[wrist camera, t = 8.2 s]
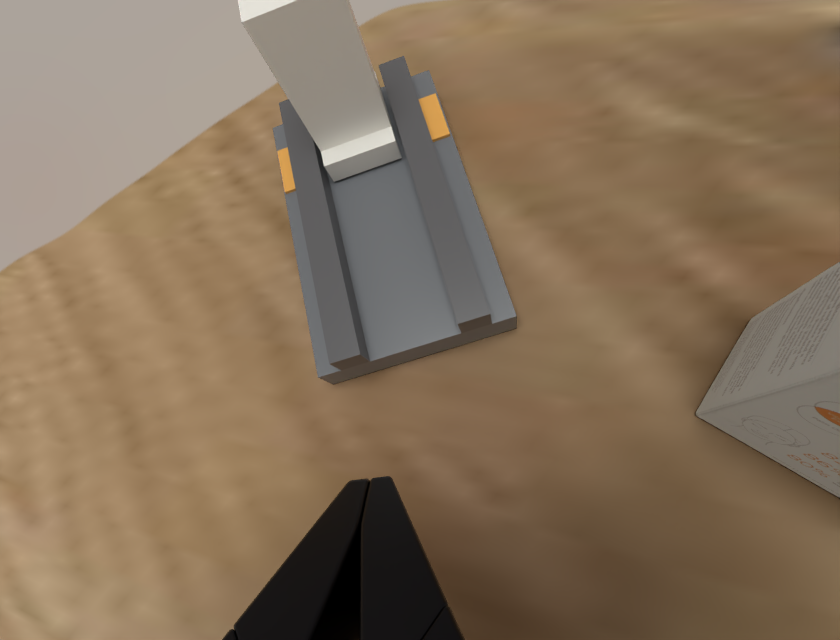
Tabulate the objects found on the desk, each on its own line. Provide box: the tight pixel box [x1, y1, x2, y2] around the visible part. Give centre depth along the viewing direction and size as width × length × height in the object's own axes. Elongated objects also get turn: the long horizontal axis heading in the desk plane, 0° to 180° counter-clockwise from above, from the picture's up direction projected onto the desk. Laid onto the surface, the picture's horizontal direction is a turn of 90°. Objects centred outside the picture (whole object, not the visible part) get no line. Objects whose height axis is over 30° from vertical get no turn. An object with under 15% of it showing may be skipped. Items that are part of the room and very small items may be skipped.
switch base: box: [273, 56, 517, 384], centre depth 25 cm, size 16×10×4 cm, turn 15°
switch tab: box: [238, 0, 402, 182], centre depth 22 cm, size 5×4×9 cm
